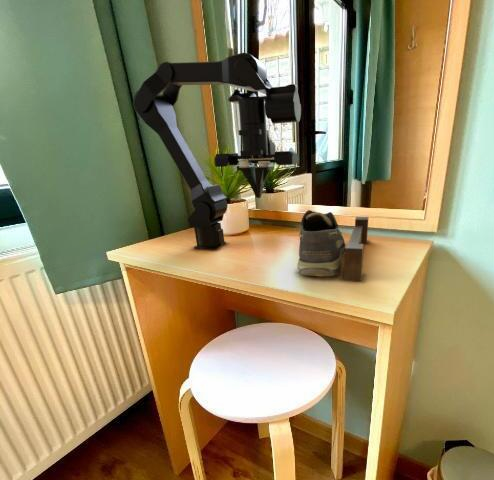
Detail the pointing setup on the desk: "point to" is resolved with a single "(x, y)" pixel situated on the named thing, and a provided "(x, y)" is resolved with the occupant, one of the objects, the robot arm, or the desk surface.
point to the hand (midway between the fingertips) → (258, 197)
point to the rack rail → (355, 250)
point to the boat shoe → (320, 245)
